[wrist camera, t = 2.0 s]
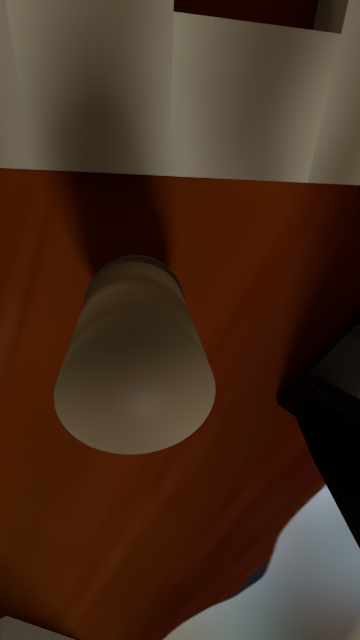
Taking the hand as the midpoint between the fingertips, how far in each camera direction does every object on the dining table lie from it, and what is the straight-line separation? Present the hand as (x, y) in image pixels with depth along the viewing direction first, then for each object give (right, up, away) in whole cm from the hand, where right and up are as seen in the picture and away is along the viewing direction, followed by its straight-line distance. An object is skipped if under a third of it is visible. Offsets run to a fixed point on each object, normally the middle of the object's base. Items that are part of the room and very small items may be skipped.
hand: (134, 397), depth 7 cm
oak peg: (-1, +4, +7) cm, 8 cm away
